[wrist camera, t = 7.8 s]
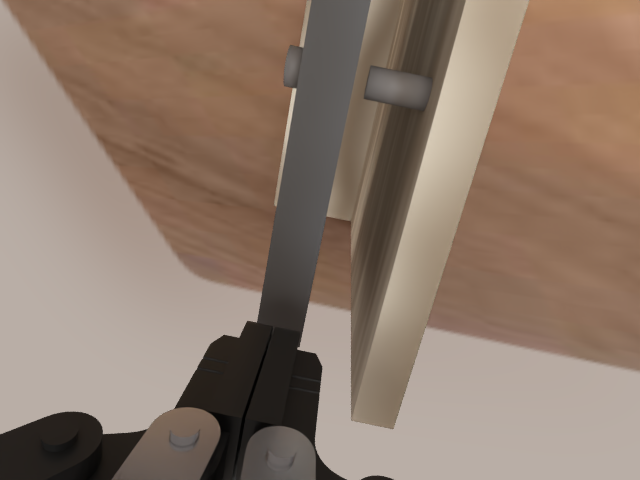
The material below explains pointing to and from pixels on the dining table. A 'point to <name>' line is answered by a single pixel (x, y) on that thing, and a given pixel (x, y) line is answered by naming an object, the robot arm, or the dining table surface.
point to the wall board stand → (410, 171)
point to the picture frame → (311, 154)
